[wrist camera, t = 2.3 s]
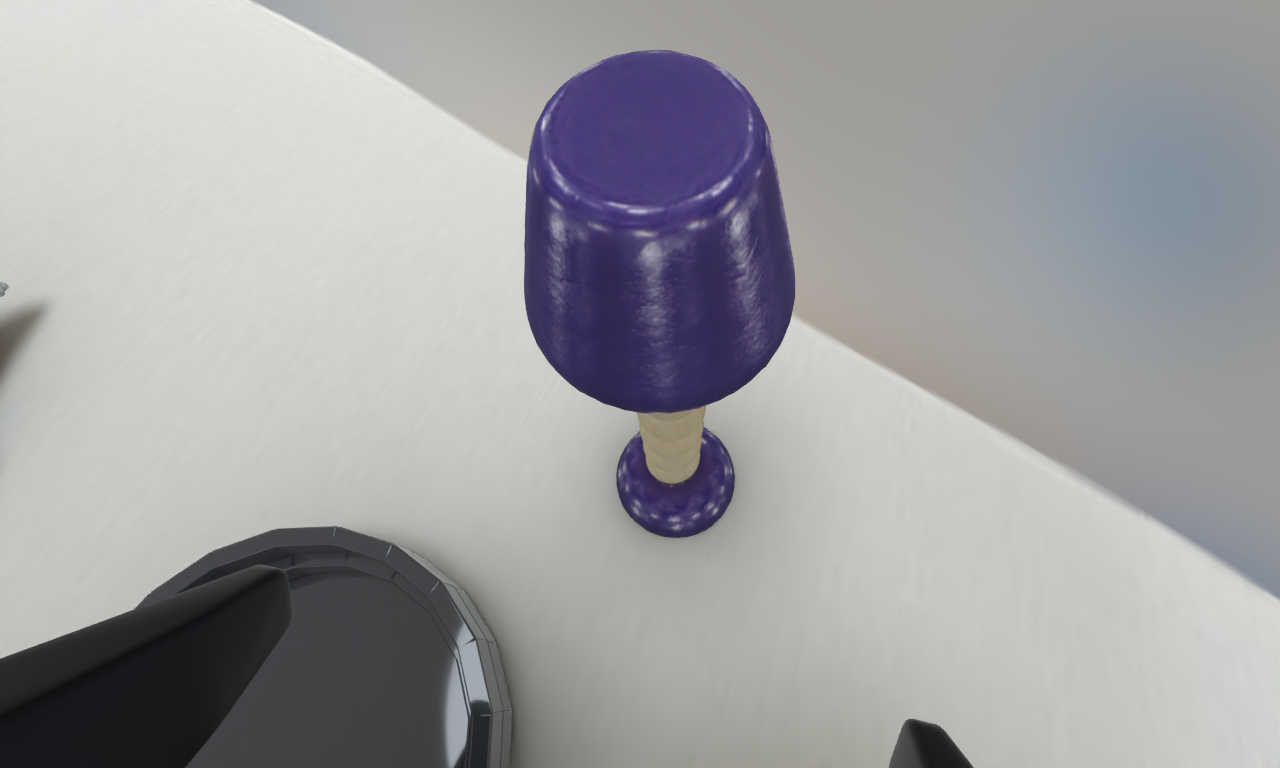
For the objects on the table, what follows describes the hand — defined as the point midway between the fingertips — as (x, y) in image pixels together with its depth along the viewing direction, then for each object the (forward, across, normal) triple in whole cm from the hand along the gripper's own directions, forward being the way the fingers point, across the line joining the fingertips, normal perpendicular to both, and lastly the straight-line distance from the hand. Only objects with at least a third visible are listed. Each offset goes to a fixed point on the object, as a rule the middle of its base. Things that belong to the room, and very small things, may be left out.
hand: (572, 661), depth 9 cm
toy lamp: (+13, 0, +5) cm, 14 cm away
